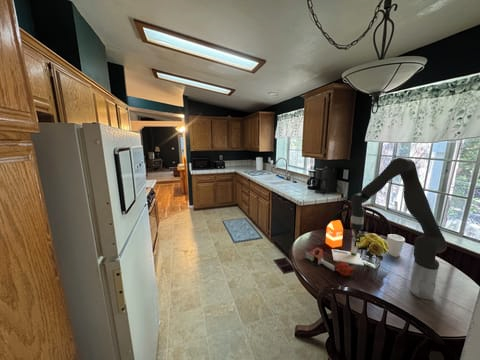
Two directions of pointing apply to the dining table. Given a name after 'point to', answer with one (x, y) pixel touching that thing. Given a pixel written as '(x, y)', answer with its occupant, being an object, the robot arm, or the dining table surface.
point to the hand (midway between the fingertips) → (354, 243)
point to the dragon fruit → (344, 268)
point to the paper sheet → (346, 257)
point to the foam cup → (395, 244)
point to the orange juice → (334, 234)
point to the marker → (353, 247)
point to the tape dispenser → (319, 257)
